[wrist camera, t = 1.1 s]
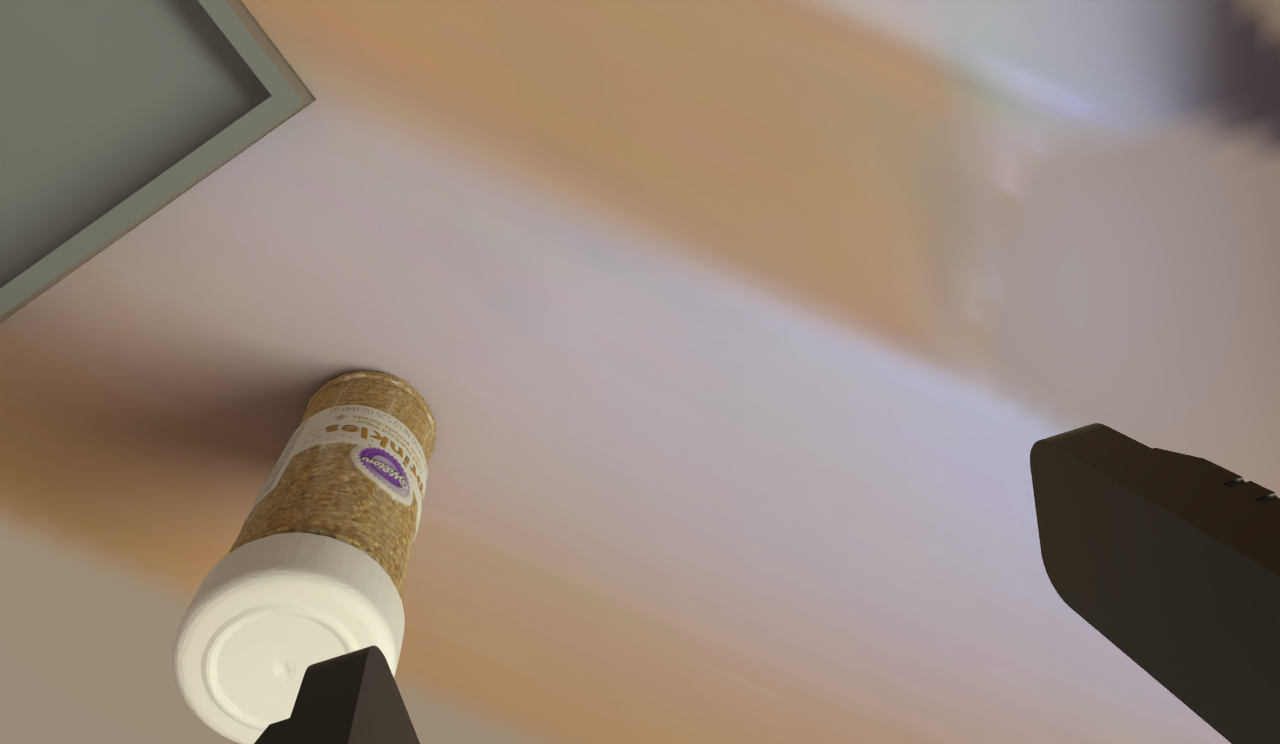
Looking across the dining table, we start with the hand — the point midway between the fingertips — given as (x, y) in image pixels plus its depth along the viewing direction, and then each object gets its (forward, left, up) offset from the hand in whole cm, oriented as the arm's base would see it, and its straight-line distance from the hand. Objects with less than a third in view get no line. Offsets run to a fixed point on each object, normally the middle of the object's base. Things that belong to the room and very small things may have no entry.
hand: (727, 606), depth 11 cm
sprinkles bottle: (+9, +1, -21) cm, 23 cm away
